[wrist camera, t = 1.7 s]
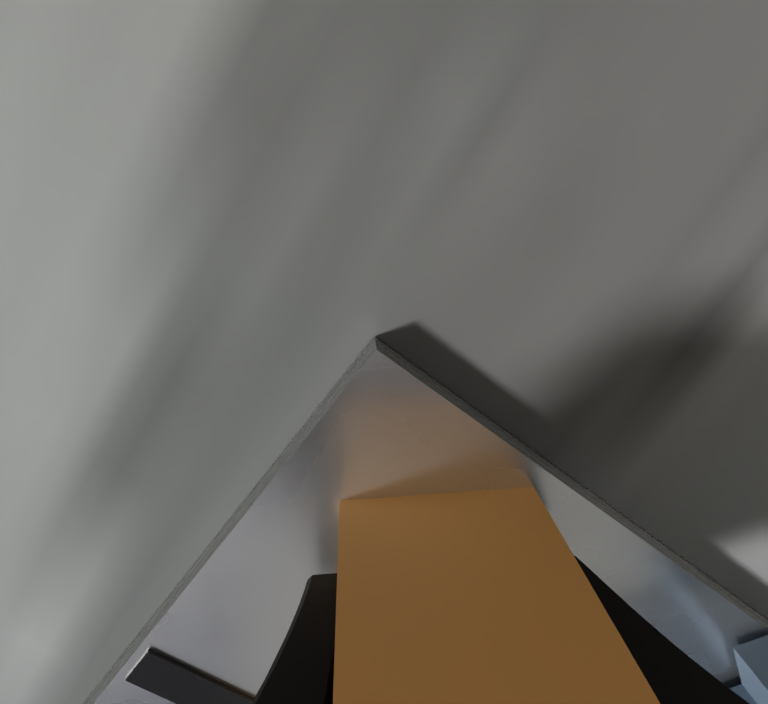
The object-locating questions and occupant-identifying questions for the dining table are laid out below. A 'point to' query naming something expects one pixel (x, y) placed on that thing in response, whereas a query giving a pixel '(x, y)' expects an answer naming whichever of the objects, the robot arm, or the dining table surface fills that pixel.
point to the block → (470, 607)
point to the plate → (388, 479)
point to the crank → (753, 670)
